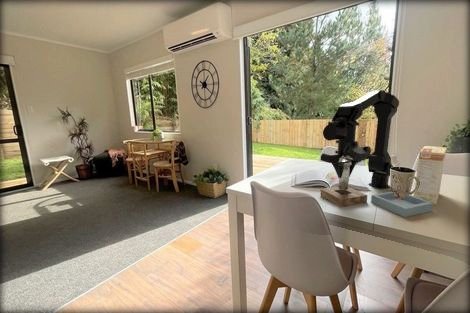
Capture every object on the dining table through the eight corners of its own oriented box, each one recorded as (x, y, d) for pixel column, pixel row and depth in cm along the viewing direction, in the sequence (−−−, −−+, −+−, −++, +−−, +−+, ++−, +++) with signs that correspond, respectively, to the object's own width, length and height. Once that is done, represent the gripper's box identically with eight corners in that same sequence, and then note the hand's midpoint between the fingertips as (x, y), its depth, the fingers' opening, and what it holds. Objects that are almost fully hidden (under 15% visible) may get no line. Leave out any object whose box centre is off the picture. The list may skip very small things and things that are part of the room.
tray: (396, 197, 91) (397, 190, 90) (432, 211, 78) (433, 203, 78) (370, 202, 87) (371, 194, 86) (404, 217, 75) (405, 208, 74)
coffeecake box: (418, 189, 98) (424, 145, 94) (440, 193, 93) (447, 147, 89) (412, 200, 88) (418, 150, 84) (436, 205, 83) (444, 153, 79)
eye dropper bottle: (389, 176, 117) (392, 154, 114) (385, 173, 122) (387, 152, 120) (399, 177, 116) (402, 154, 113) (394, 174, 121) (397, 152, 118)
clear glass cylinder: (343, 185, 93) (345, 159, 91) (352, 189, 88) (354, 161, 86) (333, 187, 92) (335, 160, 89) (342, 191, 87) (344, 162, 85)
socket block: (343, 191, 98) (344, 185, 98) (366, 202, 87) (367, 195, 86) (320, 195, 95) (320, 188, 94) (341, 207, 84) (341, 199, 83)
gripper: (341, 142, 76) (339, 186, 79) (384, 138, 81) (380, 180, 84) (320, 138, 86) (318, 177, 89) (359, 135, 91) (356, 172, 95)
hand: (343, 177), depth 89 cm, fingers closed on clear glass cylinder, 4 cm apart
